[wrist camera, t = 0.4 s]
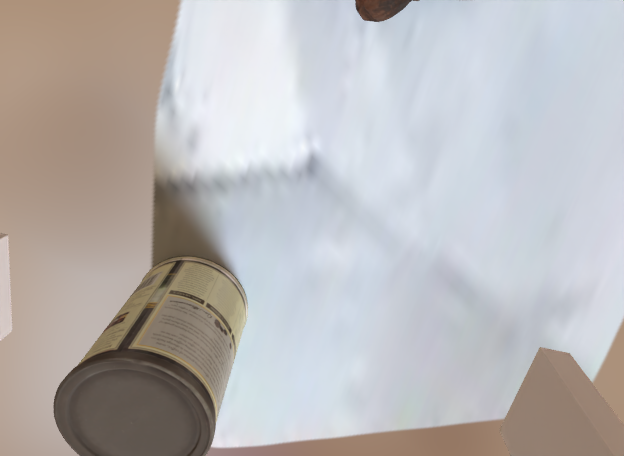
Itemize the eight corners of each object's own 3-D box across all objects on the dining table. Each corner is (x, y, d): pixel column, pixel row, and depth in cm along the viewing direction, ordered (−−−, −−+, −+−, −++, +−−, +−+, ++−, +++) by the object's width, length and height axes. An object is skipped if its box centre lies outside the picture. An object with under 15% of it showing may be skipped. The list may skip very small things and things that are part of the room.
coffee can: (224, 366, 45) (180, 500, 32) (124, 324, 43) (35, 447, 30) (268, 285, 41) (238, 399, 28) (160, 236, 40) (76, 333, 27)
